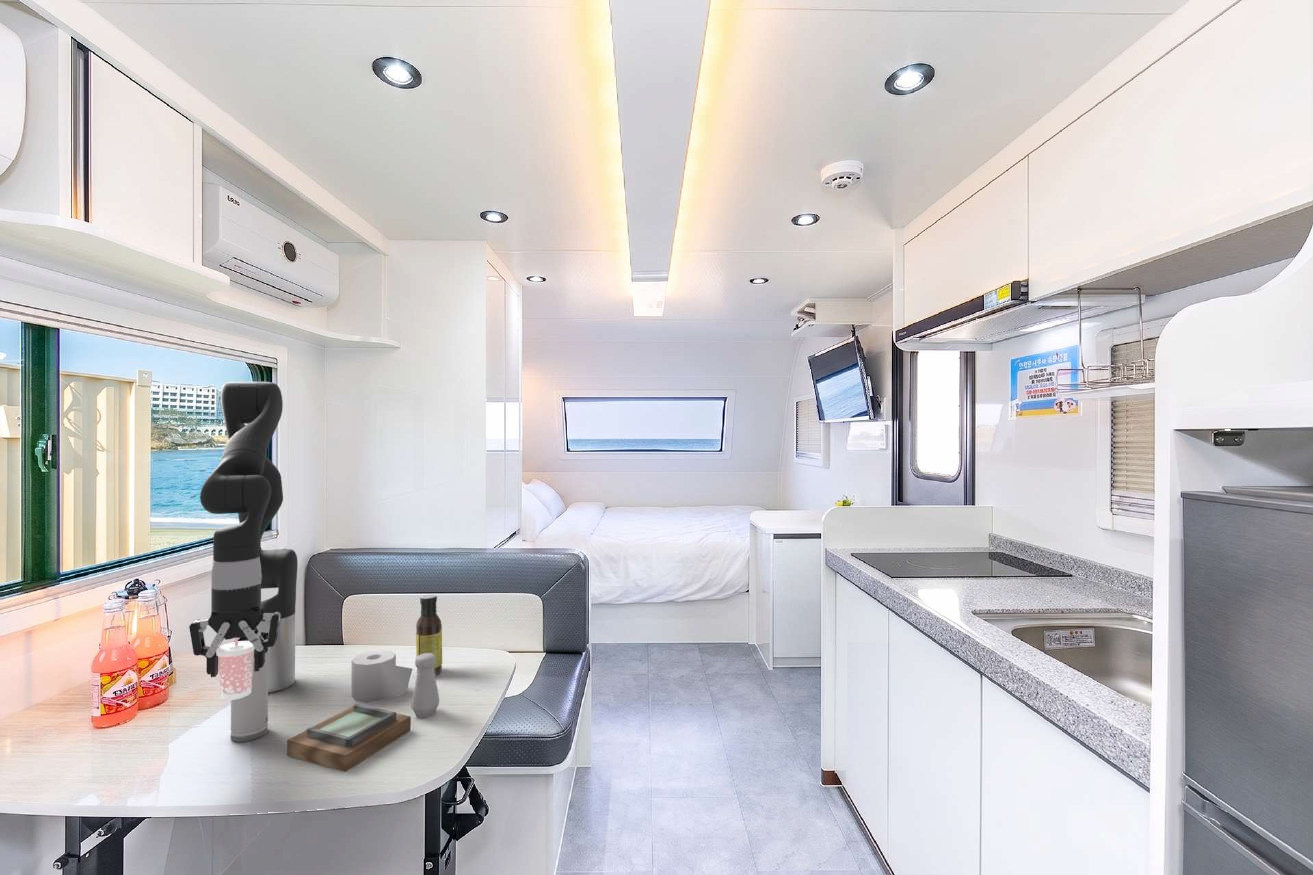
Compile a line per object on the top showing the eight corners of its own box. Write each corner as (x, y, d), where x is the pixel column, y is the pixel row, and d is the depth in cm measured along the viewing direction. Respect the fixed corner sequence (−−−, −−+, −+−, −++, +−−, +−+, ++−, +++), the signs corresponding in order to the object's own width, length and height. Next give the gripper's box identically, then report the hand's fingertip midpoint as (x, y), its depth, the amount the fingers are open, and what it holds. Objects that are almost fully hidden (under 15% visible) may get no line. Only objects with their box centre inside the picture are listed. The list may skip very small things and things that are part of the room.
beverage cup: (230, 704, 105) (230, 626, 105) (207, 699, 107) (207, 622, 107) (264, 690, 111) (264, 616, 111) (241, 685, 113) (241, 613, 113)
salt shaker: (429, 721, 126) (429, 661, 126) (405, 718, 127) (405, 659, 127) (444, 709, 132) (444, 651, 132) (421, 706, 133) (421, 649, 133)
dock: (287, 755, 112) (287, 732, 112) (356, 718, 127) (356, 697, 127) (345, 771, 107) (345, 747, 107) (410, 730, 122) (410, 709, 122)
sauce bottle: (447, 671, 153) (447, 595, 153) (427, 680, 147) (428, 601, 147) (430, 666, 156) (430, 591, 156) (410, 675, 151) (410, 597, 150)
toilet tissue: (413, 693, 140) (413, 657, 140) (350, 704, 134) (351, 667, 134) (411, 679, 148) (411, 645, 148) (351, 689, 142) (352, 653, 142)
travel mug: (276, 729, 122) (277, 633, 122) (245, 745, 116) (245, 644, 116) (255, 724, 125) (255, 630, 124) (223, 739, 118) (223, 640, 118)
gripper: (182, 591, 102) (181, 687, 103) (278, 583, 108) (278, 674, 108) (195, 581, 109) (194, 671, 109) (285, 574, 115) (285, 659, 115)
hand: (236, 672), depth 109 cm, fingers closed on beverage cup, 6 cm apart
